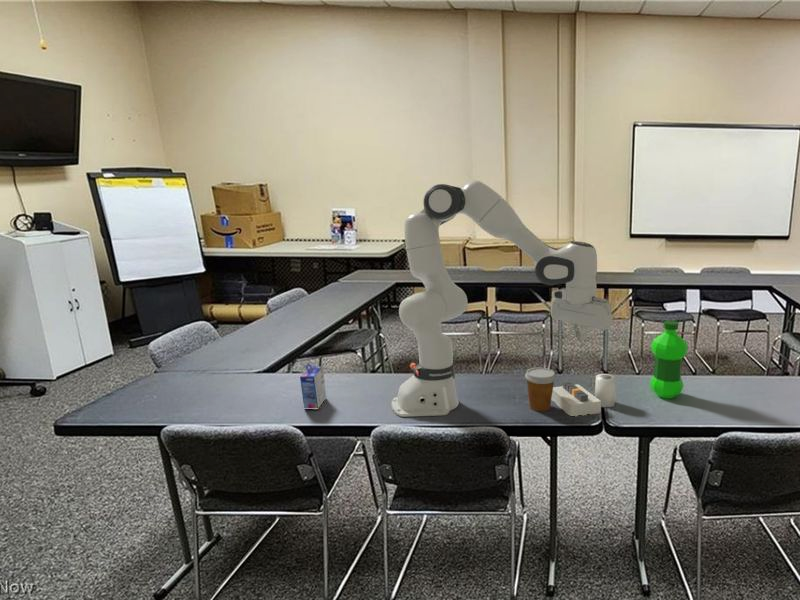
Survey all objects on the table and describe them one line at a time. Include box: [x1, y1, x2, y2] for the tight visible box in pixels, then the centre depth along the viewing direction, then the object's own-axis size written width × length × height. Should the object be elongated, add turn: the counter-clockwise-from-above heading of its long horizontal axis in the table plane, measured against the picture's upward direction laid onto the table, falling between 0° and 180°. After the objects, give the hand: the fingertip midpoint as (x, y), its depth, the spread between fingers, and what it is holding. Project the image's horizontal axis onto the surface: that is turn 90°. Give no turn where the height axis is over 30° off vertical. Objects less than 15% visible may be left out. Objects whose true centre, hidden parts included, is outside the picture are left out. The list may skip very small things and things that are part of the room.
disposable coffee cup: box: [524, 367, 557, 412], centre depth 165 cm, size 10×10×12 cm
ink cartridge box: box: [299, 362, 327, 409], centre depth 176 cm, size 10×6×14 cm, turn 172°
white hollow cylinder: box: [594, 373, 617, 408], centre depth 166 cm, size 6×6×9 cm
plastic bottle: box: [649, 320, 689, 400], centre depth 168 cm, size 10×10×25 cm
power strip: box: [551, 380, 602, 417], centre depth 170 cm, size 10×22×6 cm, turn 10°
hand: (579, 337), depth 162 cm, fingers closed
